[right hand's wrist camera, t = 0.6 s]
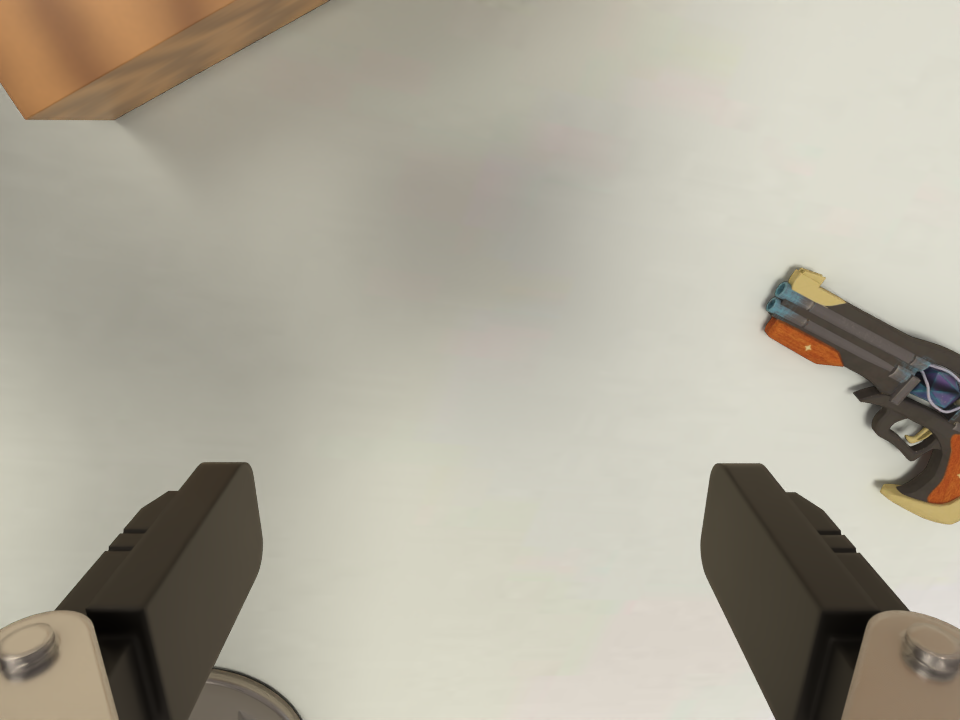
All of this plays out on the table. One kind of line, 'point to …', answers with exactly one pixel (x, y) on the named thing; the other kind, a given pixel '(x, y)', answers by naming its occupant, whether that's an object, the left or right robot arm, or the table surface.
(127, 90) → the beam
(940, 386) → the toy gun
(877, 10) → the table surface
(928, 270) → the table surface
